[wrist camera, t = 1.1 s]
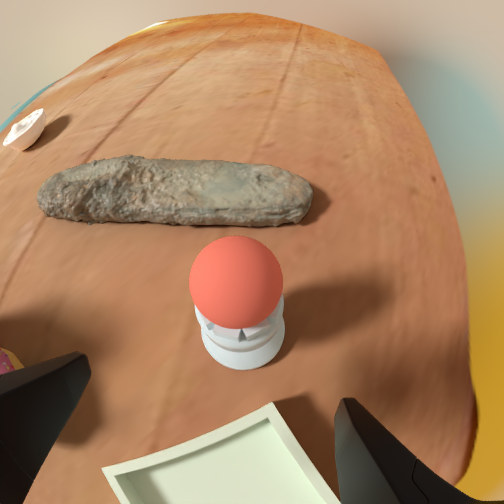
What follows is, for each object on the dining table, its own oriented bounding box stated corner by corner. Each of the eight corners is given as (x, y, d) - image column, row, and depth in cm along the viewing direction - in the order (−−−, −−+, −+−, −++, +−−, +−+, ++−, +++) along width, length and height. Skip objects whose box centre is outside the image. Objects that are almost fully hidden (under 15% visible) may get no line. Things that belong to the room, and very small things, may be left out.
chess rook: (298, 345, 21) (318, 315, 14) (226, 384, 19) (211, 374, 13) (258, 282, 24) (259, 230, 17) (190, 316, 22) (164, 274, 16)
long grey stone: (309, 255, 27) (305, 187, 33) (322, 220, 23) (314, 152, 28) (29, 229, 27) (62, 177, 33) (10, 202, 23) (49, 150, 29)
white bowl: (61, 121, 43) (50, 96, 38) (30, 158, 37) (15, 132, 31) (34, 128, 44) (24, 107, 38) (5, 163, 38) (-9, 141, 32)
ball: (294, 314, 15) (308, 277, 11) (220, 353, 14) (206, 330, 10) (254, 252, 17) (253, 202, 13) (186, 285, 16) (165, 242, 12)
